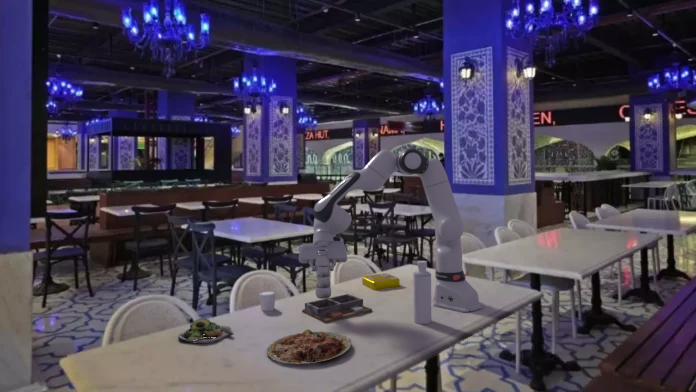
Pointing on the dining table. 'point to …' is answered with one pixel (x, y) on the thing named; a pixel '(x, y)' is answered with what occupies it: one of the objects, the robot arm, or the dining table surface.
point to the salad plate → (205, 331)
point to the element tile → (380, 281)
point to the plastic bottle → (322, 275)
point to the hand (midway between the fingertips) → (322, 270)
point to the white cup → (267, 300)
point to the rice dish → (308, 347)
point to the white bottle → (422, 294)
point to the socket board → (336, 308)
